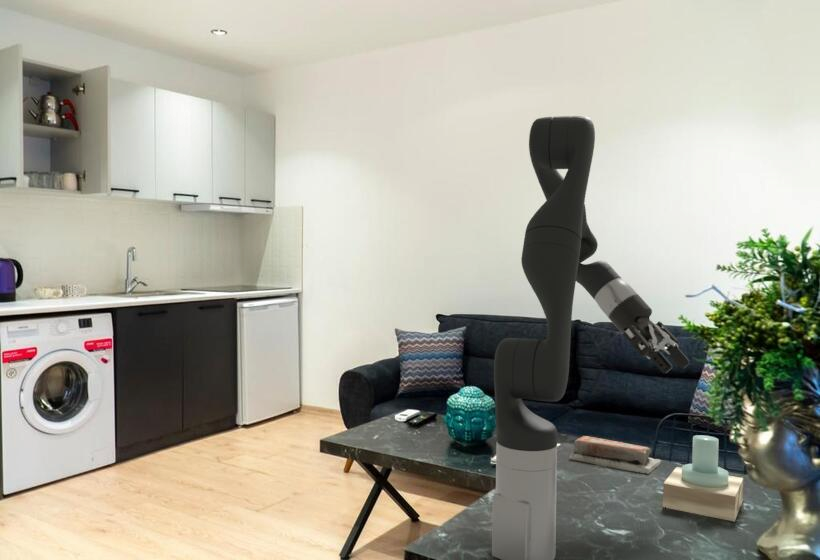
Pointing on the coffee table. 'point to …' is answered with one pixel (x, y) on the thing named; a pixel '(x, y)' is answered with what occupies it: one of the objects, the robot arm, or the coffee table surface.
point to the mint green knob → (705, 464)
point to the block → (703, 497)
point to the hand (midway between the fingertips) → (677, 368)
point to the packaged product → (614, 454)
